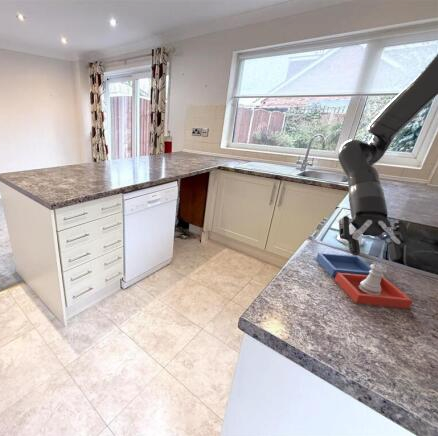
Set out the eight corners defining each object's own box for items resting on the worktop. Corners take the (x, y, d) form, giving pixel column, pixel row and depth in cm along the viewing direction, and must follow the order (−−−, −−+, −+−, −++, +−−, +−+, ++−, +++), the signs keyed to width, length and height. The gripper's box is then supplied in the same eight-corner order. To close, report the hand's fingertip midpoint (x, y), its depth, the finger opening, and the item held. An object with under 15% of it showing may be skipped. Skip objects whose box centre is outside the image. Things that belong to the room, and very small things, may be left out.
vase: (341, 234, 96) (350, 211, 93) (365, 242, 91) (375, 217, 87) (333, 239, 92) (341, 215, 89) (357, 247, 87) (367, 222, 83)
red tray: (380, 284, 68) (383, 276, 67) (408, 308, 59) (413, 300, 58) (334, 279, 69) (337, 272, 68) (355, 303, 60) (359, 295, 60)
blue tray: (355, 262, 78) (357, 255, 77) (376, 281, 69) (379, 273, 68) (315, 259, 79) (318, 252, 78) (331, 276, 71) (334, 269, 70)
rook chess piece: (376, 288, 65) (387, 262, 62) (382, 298, 61) (395, 272, 58) (355, 283, 67) (365, 258, 64) (360, 293, 63) (372, 267, 60)
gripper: (345, 192, 67) (352, 249, 61) (407, 197, 64) (421, 257, 58) (331, 204, 74) (336, 256, 68) (387, 209, 71) (397, 264, 65)
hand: (375, 257), depth 63 cm, fingers open, 8 cm apart
